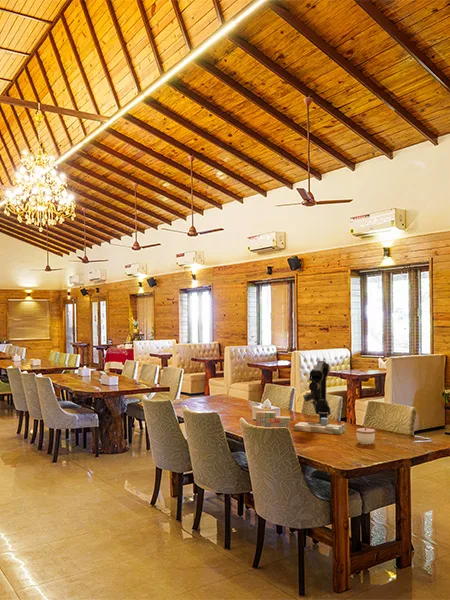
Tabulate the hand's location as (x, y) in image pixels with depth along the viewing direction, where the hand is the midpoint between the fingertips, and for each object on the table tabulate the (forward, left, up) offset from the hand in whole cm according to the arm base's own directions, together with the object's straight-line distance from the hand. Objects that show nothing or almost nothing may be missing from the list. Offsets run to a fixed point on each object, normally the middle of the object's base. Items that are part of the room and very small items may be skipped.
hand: (316, 413), depth 358 cm
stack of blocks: (+15, -24, -11) cm, 31 cm away
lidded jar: (+24, +36, -11) cm, 44 cm away
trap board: (0, +2, -11) cm, 11 cm away
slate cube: (-5, +4, -8) cm, 10 cm away
